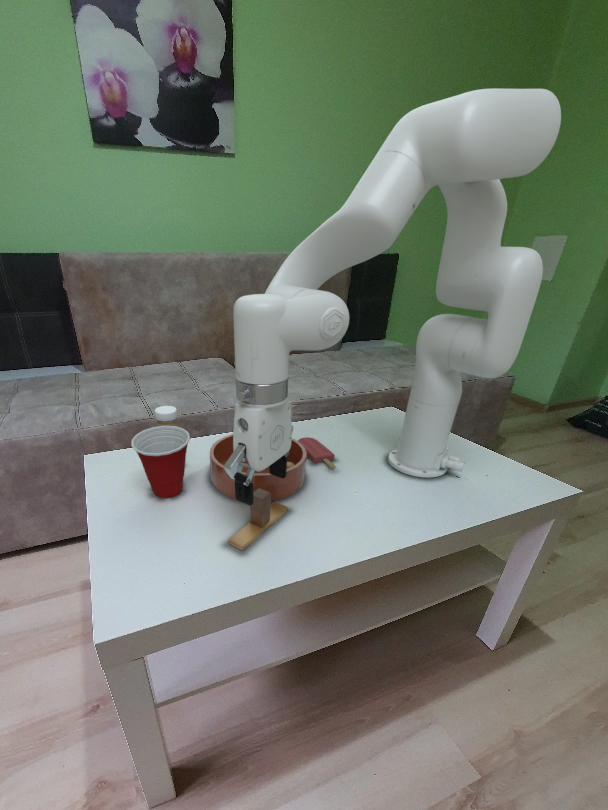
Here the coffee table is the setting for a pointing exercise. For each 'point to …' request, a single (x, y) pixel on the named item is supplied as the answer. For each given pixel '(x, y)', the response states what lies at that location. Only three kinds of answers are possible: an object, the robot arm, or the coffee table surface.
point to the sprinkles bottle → (166, 416)
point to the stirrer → (258, 519)
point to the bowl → (262, 478)
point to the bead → (290, 464)
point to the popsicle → (317, 451)
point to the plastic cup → (163, 458)
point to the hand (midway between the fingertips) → (261, 488)
